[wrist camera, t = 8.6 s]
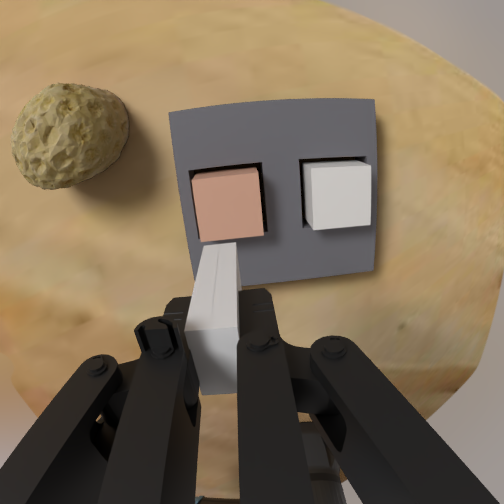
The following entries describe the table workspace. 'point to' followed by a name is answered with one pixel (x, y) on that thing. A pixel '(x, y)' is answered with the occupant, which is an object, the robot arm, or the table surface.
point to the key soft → (337, 193)
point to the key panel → (280, 180)
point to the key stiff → (228, 204)
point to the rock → (68, 135)
